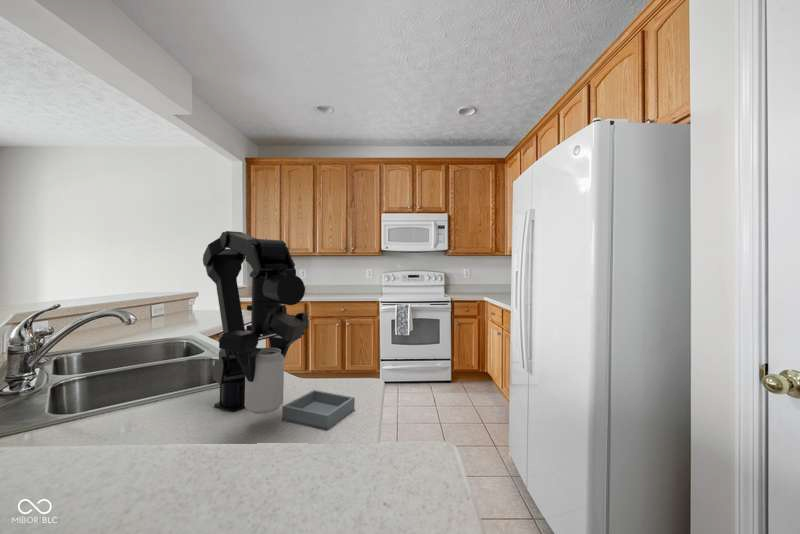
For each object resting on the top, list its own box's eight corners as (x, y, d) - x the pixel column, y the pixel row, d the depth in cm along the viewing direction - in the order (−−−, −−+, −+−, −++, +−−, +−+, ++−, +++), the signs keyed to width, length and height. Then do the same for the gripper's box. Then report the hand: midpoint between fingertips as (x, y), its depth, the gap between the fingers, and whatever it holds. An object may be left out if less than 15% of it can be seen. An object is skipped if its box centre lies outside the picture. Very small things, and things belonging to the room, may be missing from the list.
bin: (282, 420, 80) (282, 406, 80) (313, 401, 90) (313, 389, 90) (327, 430, 75) (327, 416, 75) (354, 410, 86) (354, 397, 86)
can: (270, 417, 72) (272, 355, 71) (236, 413, 73) (237, 352, 73) (289, 403, 79) (291, 347, 79) (258, 399, 80) (259, 344, 80)
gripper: (265, 308, 64) (263, 397, 64) (325, 299, 81) (323, 369, 82) (217, 303, 68) (215, 387, 68) (284, 296, 86) (282, 363, 86)
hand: (264, 375), depth 76 cm, fingers closed on can, 7 cm apart
